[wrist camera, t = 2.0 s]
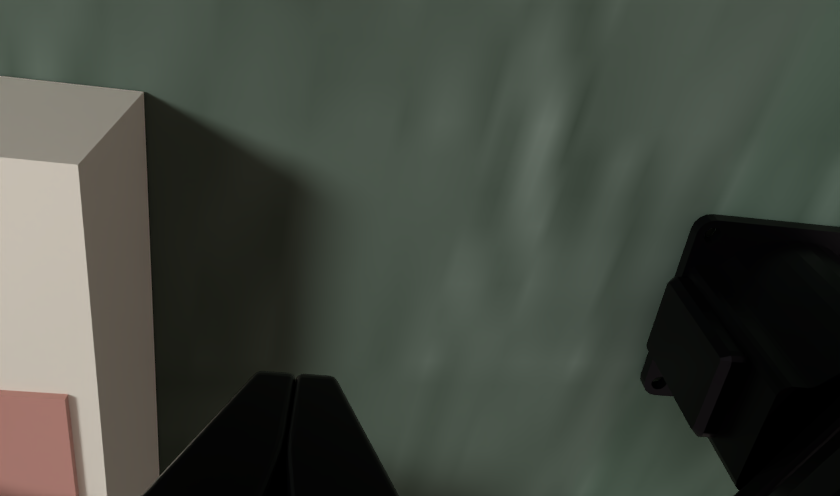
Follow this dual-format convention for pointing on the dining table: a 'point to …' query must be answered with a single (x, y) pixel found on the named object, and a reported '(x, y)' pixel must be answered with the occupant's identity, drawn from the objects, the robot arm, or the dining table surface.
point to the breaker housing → (75, 293)
